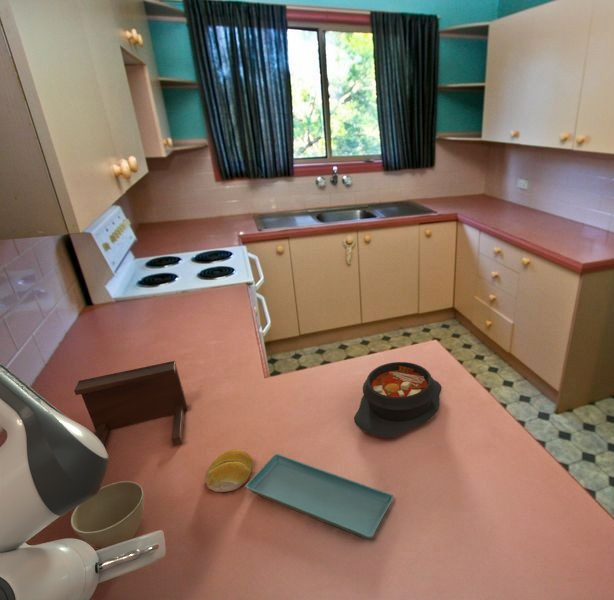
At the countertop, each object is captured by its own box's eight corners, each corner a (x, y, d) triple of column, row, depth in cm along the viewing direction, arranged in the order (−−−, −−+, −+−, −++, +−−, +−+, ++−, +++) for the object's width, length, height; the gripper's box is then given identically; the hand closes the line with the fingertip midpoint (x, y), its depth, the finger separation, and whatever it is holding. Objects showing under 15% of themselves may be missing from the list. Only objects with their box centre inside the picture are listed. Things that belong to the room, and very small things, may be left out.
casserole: (396, 372, 115) (395, 345, 111) (458, 393, 105) (459, 364, 102) (335, 425, 96) (332, 394, 92) (405, 457, 86) (404, 423, 83)
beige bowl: (78, 574, 66) (62, 542, 63) (92, 522, 74) (78, 492, 71) (151, 549, 69) (139, 518, 66) (156, 502, 78) (145, 473, 75)
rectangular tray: (395, 503, 76) (394, 492, 75) (372, 547, 68) (371, 536, 68) (277, 461, 86) (275, 452, 85) (245, 496, 78) (243, 486, 77)
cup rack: (186, 442, 92) (171, 392, 87) (83, 470, 85) (60, 417, 80) (188, 407, 103) (174, 360, 98) (97, 429, 97) (78, 380, 92)
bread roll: (256, 456, 88) (253, 440, 86) (247, 490, 80) (243, 474, 78) (215, 460, 87) (211, 445, 85) (201, 495, 79) (197, 479, 77)
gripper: (149, 521, 53) (173, 515, 65) (-63, 589, 46) (8, 568, 58) (155, 577, 51) (178, 560, 63) (-66, 657, 44) (8, 620, 56)
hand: (95, 564), depth 61 cm, fingers closed
